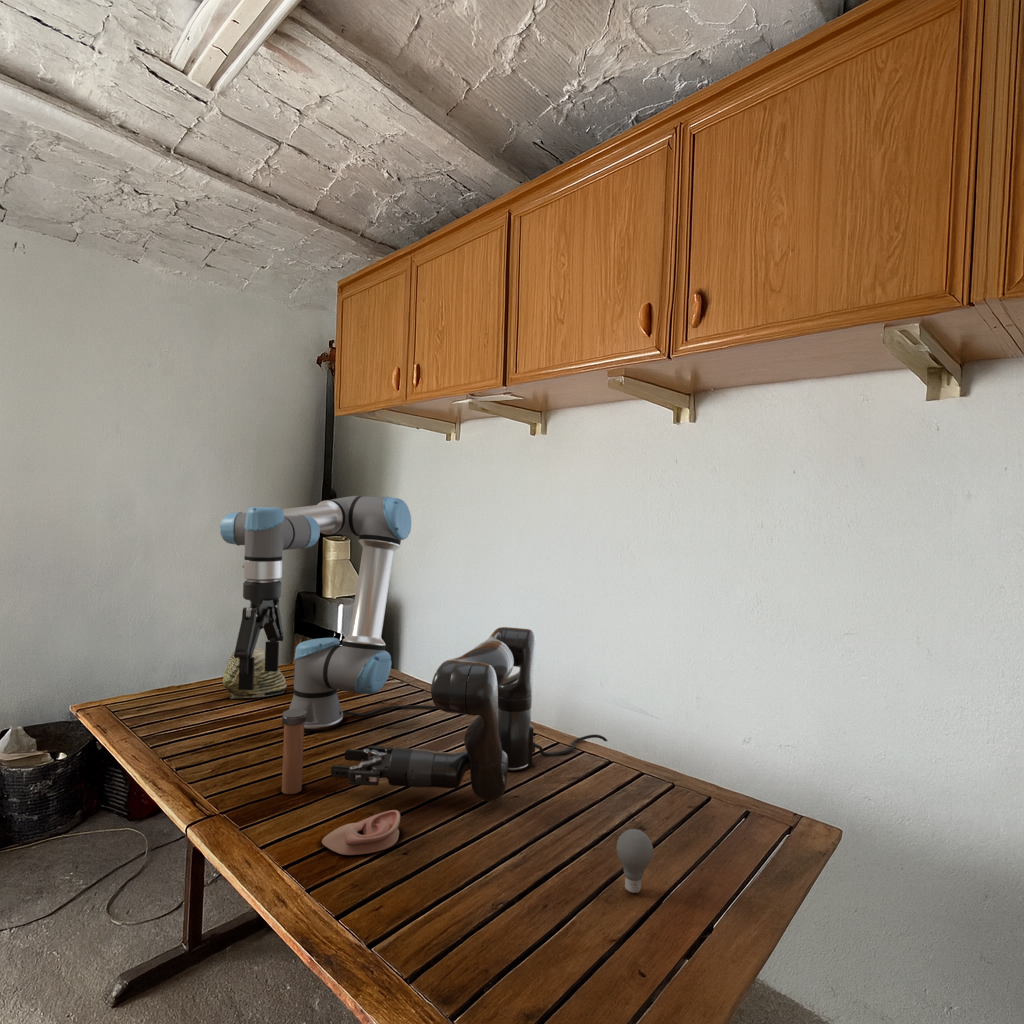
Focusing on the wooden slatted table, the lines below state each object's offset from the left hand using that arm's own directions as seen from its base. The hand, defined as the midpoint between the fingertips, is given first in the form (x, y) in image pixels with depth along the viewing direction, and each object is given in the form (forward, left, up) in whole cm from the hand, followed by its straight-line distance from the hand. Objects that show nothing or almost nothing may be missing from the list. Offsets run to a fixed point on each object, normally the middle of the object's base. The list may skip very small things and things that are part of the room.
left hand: (259, 679), depth 134 cm
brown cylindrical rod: (-6, +5, -24) cm, 25 cm away
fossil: (-33, -60, -24) cm, 73 cm away
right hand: (-11, +13, -17) cm, 24 cm away
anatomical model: (-3, +32, -24) cm, 40 cm away
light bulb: (-24, +77, -24) cm, 84 cm away
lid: (-6, +5, -8) cm, 11 cm away
